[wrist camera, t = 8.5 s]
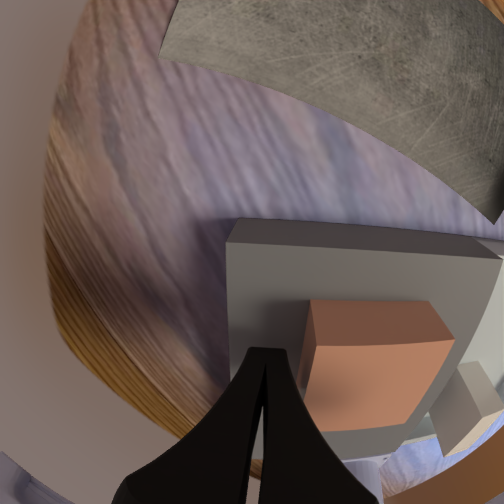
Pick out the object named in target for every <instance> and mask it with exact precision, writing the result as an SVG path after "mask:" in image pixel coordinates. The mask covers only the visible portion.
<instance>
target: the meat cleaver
mask: <svg viewBox="0 0 504 504" xmlns="http://www.w3.org/2000/svg"><path fill="white" fill-rule="evenodd" d="M158 58H160V59H165V60H170V61H176V62H180V63H185V64H190V65H194V66H198V67H202V68H206V69H210V70H214V71H218V72H221V73H225V74H228V75H232V76H235V77H238V78H241V79H245V80H248V81H251V82H254V83H257V84H260V85H262V86H265V87H268V88H271V89H273V90H276V91H279V92H281V93H284V94H287V95H289V96H292V97H294V98H296V99H299V100H301V101H304V102H306V103H308V104H310V105H313V106H315V107H317V108H319V109H322V110H324V111H326V112H328V113H330V114H332V115H334V116H336V117H338V118H340V119H342V120H344V121H346V122H348V123H350V124H352V125H354V126H356V127H358V128H360V129H362V130H363V131H365V132H367V133H369V134H371V135H372V136H374V137H376V138H378V139H379V140H381V141H383V142H384V143H386V144H388V145H389V146H391V147H393V148H394V149H396V150H398V151H399V152H401V153H402V154H404V155H405V156H407V157H408V158H410V159H411V160H413V161H414V162H416V163H417V164H419V165H420V166H422V167H423V168H425V169H426V170H428V171H429V172H430V173H432V174H433V175H435V176H436V177H437V178H439V179H440V180H441V181H443V182H444V183H445V184H447V185H448V186H449V187H450V188H452V189H453V190H454V191H456V192H457V193H458V194H459V195H460V196H462V197H463V198H464V199H465V200H467V201H468V202H469V203H470V204H471V205H472V206H474V207H475V208H476V209H477V210H478V211H479V212H480V213H482V214H483V215H484V216H485V217H486V218H487V219H488V220H489V221H490V222H491V223H492V224H493V225H494V224H495V222H496V221H497V219H498V218H499V216H500V215H501V213H502V212H503V210H504V24H503V23H502V22H501V21H500V20H499V19H498V18H497V17H496V16H495V15H494V14H493V13H492V12H491V11H490V10H489V9H488V8H486V7H485V6H484V5H483V4H482V3H481V2H480V1H479V0H179V2H178V4H177V7H176V9H175V11H174V14H173V16H172V19H171V22H170V24H169V27H168V30H167V32H166V35H165V38H164V41H163V44H162V47H161V50H160V53H159V56H158Z"/></svg>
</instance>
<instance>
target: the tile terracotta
mask: <svg viewBox="0 0 504 504" xmlns="http://www.w3.org/2000/svg"><path fill="white" fill-rule="evenodd" d="M454 341H455V338H454V336H453V335H452V333H451V332H450V330H449V329H448V328H447V326H446V325H445V323H444V322H443V320H442V319H441V318H440V316H439V315H438V313H437V312H436V311H435V309H434V308H433V307H432V305H431V304H430V303H429V301H343V300H314V299H310V305H309V311H308V318H307V324H306V330H305V336H304V342H303V348H302V354H301V359H300V365H299V370H298V375H297V380H296V385H297V388H298V390H299V393H300V395H301V397H302V399H303V402H304V404H305V406H306V408H307V410H308V412H309V414H310V416H311V417H312V419H313V421H314V423H315V424H316V426H317V428H318V429H319V431H320V432H322V431H344V430H357V429H367V428H376V427H384V426H391V425H397V424H403V423H405V422H406V421H407V419H408V418H409V417H410V415H411V414H412V412H413V411H414V410H415V408H416V407H417V405H418V404H419V402H420V401H421V399H422V398H423V396H424V395H425V393H426V392H427V390H428V388H429V387H430V385H431V383H432V382H433V380H434V378H435V377H436V375H437V373H438V372H439V370H440V368H441V366H442V364H443V363H444V361H445V359H446V357H447V355H448V353H449V351H450V349H451V347H452V345H453V343H454Z"/></svg>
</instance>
